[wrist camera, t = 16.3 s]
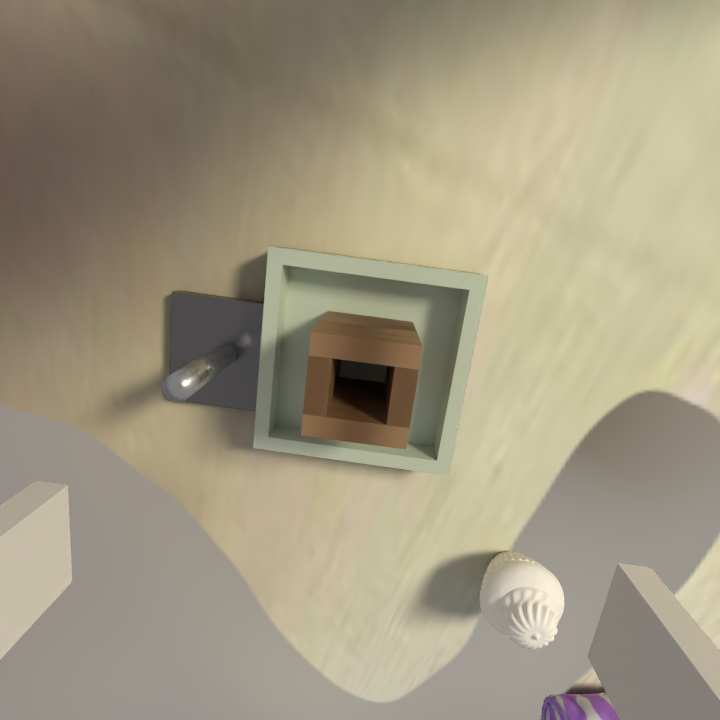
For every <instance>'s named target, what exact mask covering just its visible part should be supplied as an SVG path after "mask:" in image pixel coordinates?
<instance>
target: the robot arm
mask: <svg viewBox="0 0 720 720" xmlns="http://www.w3.org/2000/svg"><path fill="white" fill-rule="evenodd" d="M69 525H70V522H69V500H68V485H62V484H55V483H48V482H40V481H35V482H34V483H33V484H31V485H30V486H28V487H27V488H25V489H24V490H22V491H21V492H20V493H18V494H16V495H15V496H14V497H12V498H11V499H9V500H7V501H6V502H5V503H3V504H2V505H0V659H1V658H2V657H3V656H4V655H5V654H6V653H7V652H8V651H9V649H10V648H11V647H12V646H13V645H14V644H15V643H16V642H17V641H18V640H19V639H20V638H21V636H22V635H23V634H24V633H25V632H26V631H27V630H28V629H29V628H30V627H31V625H32V624H33V623H34V622H35V621H36V620H37V619H38V618H39V617H40V616H41V615H42V614H43V613H44V612H45V610H46V609H47V608H48V607H49V606H50V605H51V604H52V603H53V602H54V600H55V599H56V598H57V597H58V596H59V595H60V594H61V593H62V592H63V591H64V590H65V589H66V588H67V587H68V585H69V584H70V583H71V582H72V567H71V548H70V547H71V546H70V545H71V544H70V526H69ZM588 658H589V660H590V662H591V664H592V666H593V668H594V670H595V672H596V674H597V676H598V678H599V680H600V682H601V684H602V686H603V688H604V690H605V692H606V694H607V696H608V698H609V700H610V702H611V704H612V706H613V708H614V710H615V712H616V714H617V716H618V718H619V720H720V650H719V649H718V648H717V647H716V646H715V644H714V643H713V642H712V641H711V640H710V638H709V637H708V636H707V635H706V634H705V632H704V631H703V630H702V629H701V628H700V626H699V625H698V624H697V623H696V622H695V620H694V619H693V618H692V617H691V616H690V614H689V613H688V612H687V611H686V610H685V608H684V607H683V606H682V605H681V604H680V602H679V601H678V600H677V599H676V598H675V596H674V595H673V594H672V593H671V592H670V590H669V589H668V588H667V587H666V586H665V584H664V583H663V582H662V581H661V580H660V579H659V577H658V576H657V575H656V574H655V573H654V571H653V570H652V569H651V568H649V567H641V566H635V565H627V564H620V563H618V564H617V567H616V571H615V573H614V577H613V580H612V583H611V586H610V589H609V592H608V595H607V598H606V601H605V605H604V607H603V611H602V614H601V617H600V620H599V623H598V626H597V629H596V632H595V635H594V638H593V642H592V644H591V648H590V651H589V654H588Z"/></svg>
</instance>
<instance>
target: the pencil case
mask: <svg viewBox="0 0 720 720" xmlns="http://www.w3.org/2000/svg"><path fill="white" fill-rule="evenodd" d="M542 720H619V718H618V716H617V714H616V712H615V710H614V708H613V706H612V704H611V702H610V700H609V698H608V696H607V694H606V693H598V694H580V695H579V694H560V695H549V696H548V697H546V698H545V700H544V704H543V707H542Z"/></svg>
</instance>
